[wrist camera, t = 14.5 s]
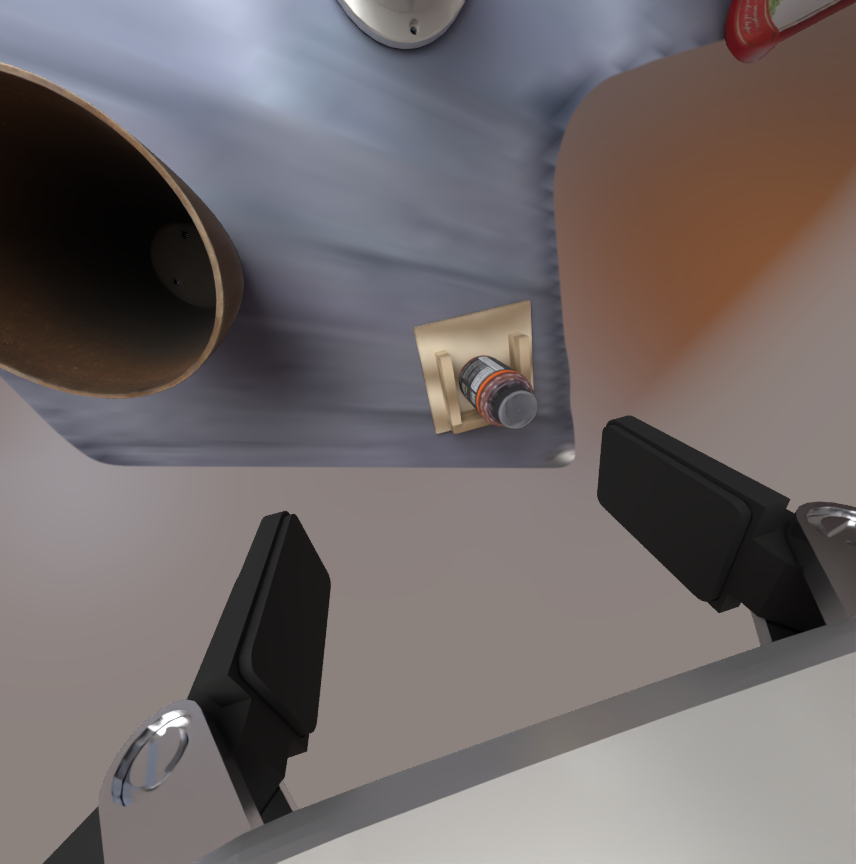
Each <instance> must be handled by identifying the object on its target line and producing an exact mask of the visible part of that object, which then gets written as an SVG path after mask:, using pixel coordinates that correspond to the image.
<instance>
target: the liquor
mask: <svg viewBox="0 0 856 864" xmlns="http://www.w3.org/2000/svg"><path fill="white" fill-rule="evenodd" d="M855 2H856V0H732V3H731V6H730V9H729V13H728V16H727V20H726V25H725V41H726V45H727V47H728V48H729V50H730V51H731V53H732V54H733V56H734V57H735V58H736V59H737V60H739V61H741V62H743V63H751V62H755V61H757V60H759V59H761V58H762V57H764V56H765V55H766V54H768V53H769V52H770V50H772V49H773V47H774V46H775V45H776V44H777V43H779V42H781V41H783V40H785V39H786V38H788V37H790V36H792V35H794V34H796V33H798V32H800V31H801V30H803V29H805V28H807V27H809V26H811V25H813V24H814V23H817V22H818V21H820V20H822V19H824V18H826V17H828V16H830V15H832V14H834V13H835V12H838V11H839V10H841V9H843V8H845V7H847V6H849V5H851V4H853V3H855Z"/></svg>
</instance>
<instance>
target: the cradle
mask: <svg viewBox="0 0 856 864" xmlns="http://www.w3.org/2000/svg"><path fill="white" fill-rule="evenodd" d="M413 329H414V334H415V338H416V343H417V348H418V353H419V357H420V362H421V367H422V371H423V376H424V381H425V385H426V390H427V395H428V399H429V404H430V409H431V413H432V418H433V423H434V427H435V431H436V434H439V433H443V432H446V431H450V430H452V432H453V433H454V434H457V433H461V432H465V431H468V430H472V429H476V428H479V427H483V426H487V425H491V424H490V423H489V422H487V421H486V420H485V419H484V418H483V417H482V416H481V415H480V414H479V412H478V411H477V410H476V409H475V408H474V407H473V405H472V404H471V403H470V402H469V401H468V400H467V398H466V397H465V396H464V395H463V393H462V391H461V390H460V387H459V374H460V372H461V369H462V368H463V366H464V365H465V364H466V363H467V362H468V361H469V360H470V359H472V358H474V357H477V356H482V355H486V356H491V357H493V358H495V359H497V360H499V361H500V362H502V363H504V364H505V365H507V366H509V367H510V368H512V369H513V370H515V371H517V372H518V373H520V374H522V375H523V376H524V377H526V378H527V379H528V380H529V382H530V383H531V385H532V387H533V361H532V333H531V305H530V300H524V301H520V302H516V303H512V304H507V305H503V306H499V307H495V308H491V309H487V310H483V311H479V312H474V313H470V314H466V315H462V316H458V317H454V318H450V319H446V320H442V321H437V322H433V323H429V324H425V325H421V326H417V327H413ZM533 391H534V390H533Z"/></svg>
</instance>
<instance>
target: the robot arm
mask: <svg viewBox="0 0 856 864" xmlns="http://www.w3.org/2000/svg"><path fill="white" fill-rule="evenodd" d="M338 2H339V3H340V5H341V6H342V8H343V9H344V11H345V12H346V14H347V15H348V16H349V17H350V18H351V19H352V20H353V21H354V23H355V24H356V25H357V26H358V27H359V28H360V29H361V30H362V31H364V32H365V33H366V34H368V35H369V36H370V37H372V38H373V39H374V40H376V41H378V42H381V43H383V44H385V45H387V46H389V47H394V48H400V49H412V48H419V47H422V46H424V45H427V44H429V43H432V42H433V41H434V40H436V39H437V38H438V37H440V36H441V35H442V34H444V33H445V31H446V30H447V29H448V28H449V27H450V26H451V24H452V23H453V22H454V21H455V19H456V18H457V16H458V14H459V12H460V10H461V9H462V7H463V5H464V3H465V0H338ZM412 30H413V31H414V32H415V33H416V35H413V34H412V33H411V32H410V31H412ZM597 497H598V500H599V502H600V504H601V505H602V506H603V507H604V508H605V509H606V510H607V511H608V512H609V513H610V514H611V515H612V516H613V517H614V518H615V519H616V520H617V521H618V522H619V523H620V524H621V525H622V526H623V527H625V529H626V530H627V531H628V532H629V533H631V534H632V535H633V536H634V537H635V538H636V539H637V540H638V541H639V542H640V543H641V544H642V545H643V546H644V547H645V548H646V549H647V550H648V551H649V552H650V553H651V554H652V555H653V556H654V557H655V558H656V559H657V560H658V561H659V562H661V563H662V564H663V565H664V566H665V567H666V568H667V569H668V570H669V571H670V572H671V573H672V574H673V575H674V576H675V577H676V578H677V579H678V580H679V581H680V582H681V583H682V584H683V585H684V586H685V587H686V588H687V589H688V590H689V591H691V593H692V594H694V595H695V596H696V597H697V598H698V599H700V600H702V601H705V602H708V603H709V604H710V605H711V606H712V607H713V608H714V609H715V610H716V611H717V612H718V613H721V612H724V611H727V610H730V609H733V608H736V607H739V605H740V603H743V604H744V605H745V606H746V607H747V608H748V609H750V610H751V614H752V617H753V621H754V624H755V628H756V631H757V635H758V638H759V642H760V645H761V646H760V647H757V648H755V649H752V650H749V651H746V652H743V653H740V654H737V655H734V656H731V657H728V658H725V659H722V660H719V661H717V662H713V663H710V664H708V665H705V666H702V667H699V668H696V669H693V670H690V671H687V672H684V673H681V674H678V675H675V676H672V677H670V678H667V679H664V680H661V681H658V682H655V683H652V684H649V685H646V686H644V687H641V688H638V689H635V690H632V691H629V692H627V693H623V694H620V695H618V696H615V697H612V698H609V699H606V700H603V701H600V702H597V703H595V704H592V705H589V706H586V707H583V708H580V709H577V710H575V711H571V712H569V713H566V714H563V715H560V716H557V717H554V718H552V719H549V720H546V721H543V722H540V723H537V724H534V725H531V726H528V727H526V728H523V729H520V730H517V731H514V732H511V733H509V734H506V735H503V736H500V737H497V738H494V739H491V740H489V741H486V742H483V743H480V744H477V745H474V746H472V747H469V748H466V749H463V750H460V751H458V752H455V753H452V754H449V755H446V756H443V757H441V758H438V759H435V760H432V761H429V762H426V763H424V764H421V765H418V766H415V767H412V768H409V769H407V770H404V771H401V772H398V773H395V774H393V775H390V776H387V777H384V778H382V779H379V780H376V781H374V782H371V783H368V784H365V785H363V786H360V787H357V788H355V789H352V790H350V791H347V792H344V793H341V794H339V795H336V796H334V797H331V798H328V799H326V800H323V801H320V802H318V803H315V804H312V805H310V806H308V807H304V808H302V809H299V808H298V807H297V805H296V803H295V801H294V799H293V797H292V795H291V794H290V792H289V790H288V788H287V786H286V784H285V783H284V781H283V779H284V777H285V771H286V765H287V758H289V757H292V756H295V755H298V754H301V753H303V752H307V747H308V739H309V733H312V732H314V730H315V727H316V724H317V717H318V707H319V697H320V687H321V677H322V667H323V658H324V648H325V638H326V628H327V618H328V608H329V599H330V589H331V583H330V577H329V574H328V572H327V570H326V569H325V567H324V565H323V563H322V562H321V559H320V558H319V556H318V554H317V552H316V550H315V548H314V546H313V545H312V543H311V541H310V539H309V537H308V535H307V534H306V532H305V530H304V528H303V526H302V524H301V523H300V521H299V519H298V517H297V516H296V515H295V514H291V515H290V514H289V513H288V512H287V511H283V512H279V513H275V514H272V515H268V516H265V517H264V518H263V519H262V521H261V523H260V526H259V528H258V531H257V533H256V536H255V538H254V540H253V543H252V545H251V548H250V550H249V552H248V555H247V557H246V560H245V562H244V565H243V567H242V570H241V572H240V574H239V577H238V578H237V580H236V582H235V584H234V587H233V589H232V591H231V594H230V596H229V599H228V601H227V603H226V606H225V608H224V611H223V613H222V616H221V618H220V620H219V623H218V626H217V628H216V630H215V633H214V635H213V638H212V640H211V643H210V645H209V647H208V649H207V652H206V654H205V657H204V659H203V662H202V664H201V666H200V669H199V671H198V674H197V676H196V679H195V681H194V683H193V686H192V688H191V691H190V693H189V696H188V698H187V699H185V700H180V701H176V702H173V703H171V704H169V705H167V706H165V707H163V708H161V709H160V710H158V711H157V712H156V713H155V714H153V715H152V716H151V717H149V718H148V719H147V720H146V721H145V722H144V723H143V724H142V725H141V726H140V727H139V728H138V729H137V730H136V731H135V732H134V733H133V734H132V735H131V736H130V738H129V739H128V740H127V741H126V743H125V744H124V745H123V747H122V748H121V749H120V751H119V752H118V753H117V755H116V757H115V758H114V760H113V762H112V764H111V766H110V767H109V769H108V771H107V773H106V776H105V778H104V781H103V784H102V787H101V789H100V795H99V806H98V807H97V808H96V809H95V810H94V811H93V812H92V813H91V814H90V815H89V816H88V817H87V818H86V819H85V821H84V822H83V823H82V824H81V825H80V826H79V827H78V828H77V829H76V830H75V831H74V832H73V833H72V834H71V835H70V836H69V837H68V838H67V839H66V840H65V841H64V842H63V843H62V844H61V845H60V847H59V848H58V849H56V851H54V853H53V854H52V855H51V856H50V857H49V858H48V859H47V860H46V861H45V862H44V863H43V864H856V508H855V507H852V506H848V505H843V504H838V503H831V502H812V503H806V504H804V505H801V506H799V507H798V509H797V510H796V512H795V514H794V513H793V512H791V511H789V510H787V509H786V507H787V505H788V503H789V501H790V499H789V498H787V497H785V496H783V495H782V494H780V493H778V492H776V491H774V490H772V489H770V488H768V487H766V486H764V485H762V484H760V483H759V482H757V481H755V480H753V479H751V478H749V477H747V476H745V475H743V474H742V473H740V472H738V471H736V470H734V469H732V468H730V467H728V466H726V465H724V464H723V463H720V462H719V461H717V460H715V459H713V458H711V457H709V456H707V455H705V454H704V453H702V452H700V451H698V450H696V449H694V448H692V447H690V446H688V445H686V444H685V443H683V442H681V441H679V440H677V439H675V438H673V437H671V436H669V435H667V434H665V433H664V432H662V431H660V430H658V429H656V428H654V427H652V426H650V425H648V424H646V423H644V422H643V421H641V420H639V419H637V418H635V417H633V416H625V417H621V418H617V419H613V420H611V421H609V422H608V423H607V425H606V427H604V429H603V432H602V443H601V455H600V466H599V478H598V490H597Z"/></svg>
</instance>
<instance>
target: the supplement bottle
mask: <svg viewBox="0 0 856 864" xmlns="http://www.w3.org/2000/svg"><path fill="white" fill-rule="evenodd" d="M459 387H460V390H461V391H462V393H463V395H464V396H465V397H466V398H467V400H468V401H469V402H470V403H471V404H472V405H473V407H474V408H475V409H476V410H477V411H478V412H479V414H480V415H481V416H482V417H483V418H484V419H485V420H486V421H487V422H489V423H490V424H493V425H495V426H505V427H507V428H510V429H519V428H522V427H524V426H526V425H527V424H529V423H530V422H531V421H532V420H533V418H534V417H535V415H536V413H537V409H538V403H537V400H536V398H535V396H534V391H533V387H532V385H531V383H530V382H529V380H528V379H527V378H526V377H524V376H523V375H522V374H520V373H518V372H517V371H515V370H513V369H512V368H510V367H509V366H507V365H505V364H504V363H502V362H500V361H499V360H497V359H495V358H493V357H491V356H486V355H482V356H477V357H474V358H472V359H470V360H469V361H468V362H467V363H466V364H465V365H464V366H463V368H462V369H461V372H460V374H459Z"/></svg>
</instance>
